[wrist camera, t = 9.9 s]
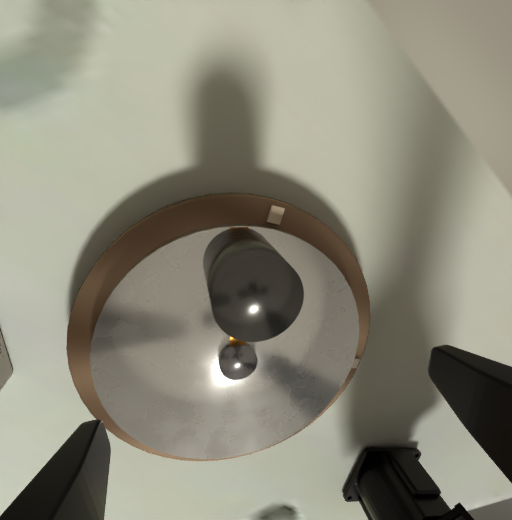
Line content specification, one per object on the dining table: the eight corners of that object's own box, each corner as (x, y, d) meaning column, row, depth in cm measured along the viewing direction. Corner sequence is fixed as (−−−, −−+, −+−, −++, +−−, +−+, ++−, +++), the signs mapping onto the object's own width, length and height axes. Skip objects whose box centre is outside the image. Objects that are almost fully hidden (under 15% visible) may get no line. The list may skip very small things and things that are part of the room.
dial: (337, 426, 26) (380, 502, 20) (112, 466, 22) (90, 573, 16) (368, 220, 20) (440, 248, 15) (73, 226, 16) (19, 267, 11)
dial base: (309, 446, 28) (317, 463, 27) (57, 440, 22) (48, 463, 21) (399, 233, 23) (415, 239, 21) (99, 150, 17) (91, 151, 15)
